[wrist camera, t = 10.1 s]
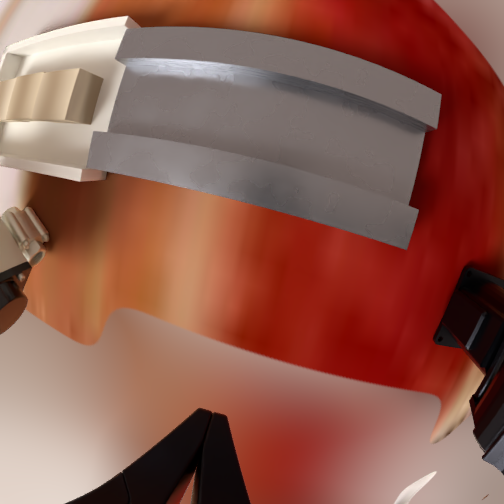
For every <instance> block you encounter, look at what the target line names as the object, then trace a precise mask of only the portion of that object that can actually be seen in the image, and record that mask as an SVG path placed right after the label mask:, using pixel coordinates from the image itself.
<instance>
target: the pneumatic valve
mask: <svg viewBox="0 0 504 504" xmlns="http://www.w3.org/2000/svg"><path fill="white" fill-rule="evenodd" d="M48 235H49V233H48V231H47V230H46V228H45V227H44V225H43V224H42V223H41V221H40V220H39V218H38V217H37V215H36V214H35V212H34V211H33V209H32V208H31V207H26V208H25V209H24V210H22V211H20V210H19V209H18V208H17V207H11V208H9V209H8V210H6V211H5V212H4V213H3V215H2V217H0V334H2V333H4V332H5V331H6V330H8V329H9V328H10V327H11V326H12V325H13V324H14V323H15V322H16V321H17V320H18V319H19V317H20V316H21V315H22V313H23V312H24V310H25V308H26V306H27V303H28V299H27V297H26V295H25V294H24V293H23V289H24V286H25V284H26V281H27V279H28V276H29V274H30V272H31V269H32V267H34V266H35V265H37V264H38V263H39V262H40V261H41V260H42V259H43V258H44V256H45V254H46V248H45V247H44V246H43V242H48V241H49V236H48Z"/></svg>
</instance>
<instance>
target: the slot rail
mask: <svg viewBox="0 0 504 504" xmlns="http://www.w3.org/2000/svg"><path fill="white" fill-rule="evenodd" d="M115 60H117V61H119V62H120V63H122V64H124V65H125V66H126V68H125V71H124V74H123V77H122V80H121V83H120V87H119V90H118V93H117V96H116V100H115V103H114V107H113V111H112V115H111V118H110V122H109V126H108V131H107V132H100V131H93V135H92V140H91V144H90V149H89V154H88V160H87V165H86V168H91V169H96V170H102V171H107V172H112V173H117V174H122V175H127V176H132V177H137V178H142V179H147V180H152V181H156V182H161V183H166V184H170V185H175V186H179V187H183V188H188V189H192V190H196V191H201V192H205V193H209V194H213V195H217V196H221V197H226V198H230V199H234V200H238V201H241V202H245V203H249V204H253V205H257V206H261V207H265V208H268V209H272V210H276V211H279V212H283V213H287V214H290V215H294V216H298V217H301V218H305V219H308V220H312V221H315V222H319V223H322V224H326V225H329V226H332V227H336V228H339V229H342V230H346V231H349V232H352V233H355V234H359V235H362V236H365V237H368V238H372V239H375V240H378V241H381V242H384V243H387V244H390V245H393V246H396V247H399V248H402V249H405V250H407V247H408V244H409V241H410V238H411V235H412V232H413V229H414V225H415V222H416V219H417V215H418V212H419V210H418V209H415V208H413V207H410V206H408V205H409V201H410V198H411V194H412V190H413V186H414V182H415V178H416V174H417V170H418V165H419V161H420V156H421V151H422V146H423V141H424V136H425V132H428V131H432V130H435V129H437V125H438V119H439V112H440V104H441V95H442V94H440V93H438V92H436V91H434V90H432V89H430V88H428V87H426V86H424V85H422V84H420V83H418V82H416V81H414V80H412V79H410V78H408V77H405V76H403V75H401V74H399V73H396V72H394V71H392V70H389V69H387V68H384V67H382V66H379V65H377V64H374V63H371V62H369V61H366V60H363V59H360V58H357V57H354V56H351V55H348V54H345V53H342V52H339V51H336V50H332V49H329V48H325V47H322V46H318V45H314V44H310V43H306V42H302V41H298V40H293V39H288V38H283V37H278V36H273V35H267V34H261V33H254V32H247V31H239V30H230V29H219V28H205V27H144V28H130V29H126V31H125V34H124V36H123V38H122V41H121V43H120V46H119V49H118V51H117V54H116V57H115Z"/></svg>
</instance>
